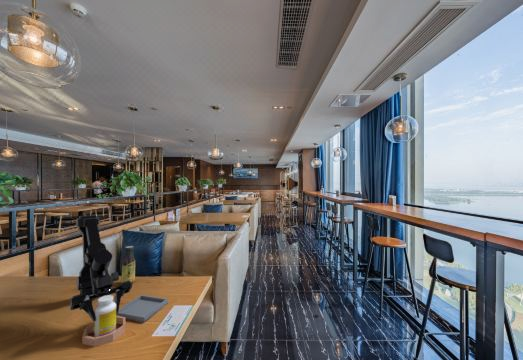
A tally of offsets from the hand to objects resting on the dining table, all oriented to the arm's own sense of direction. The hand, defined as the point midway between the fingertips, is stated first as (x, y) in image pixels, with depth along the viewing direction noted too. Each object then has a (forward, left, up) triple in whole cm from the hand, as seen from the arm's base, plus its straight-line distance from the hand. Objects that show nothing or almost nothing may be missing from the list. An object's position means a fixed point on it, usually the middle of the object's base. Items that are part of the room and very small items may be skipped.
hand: (106, 316), depth 81 cm
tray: (+1, +17, -7) cm, 18 cm away
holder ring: (-1, +1, -7) cm, 7 cm away
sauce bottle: (-25, +36, -7) cm, 44 cm away
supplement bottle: (-1, +1, -7) cm, 7 cm away
